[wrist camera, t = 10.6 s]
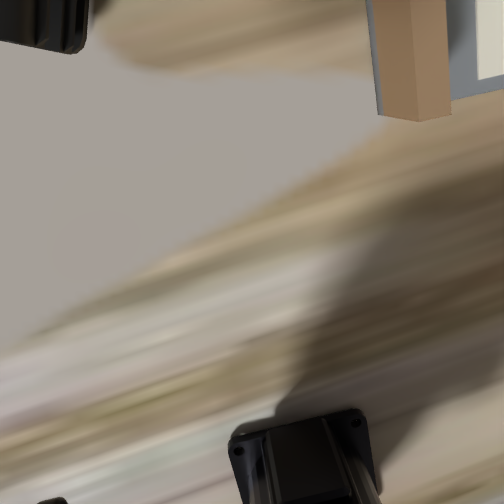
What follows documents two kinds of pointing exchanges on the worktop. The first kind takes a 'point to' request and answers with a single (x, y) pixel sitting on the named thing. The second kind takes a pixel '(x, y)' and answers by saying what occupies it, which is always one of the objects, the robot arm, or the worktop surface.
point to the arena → (434, 54)
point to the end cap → (45, 24)
